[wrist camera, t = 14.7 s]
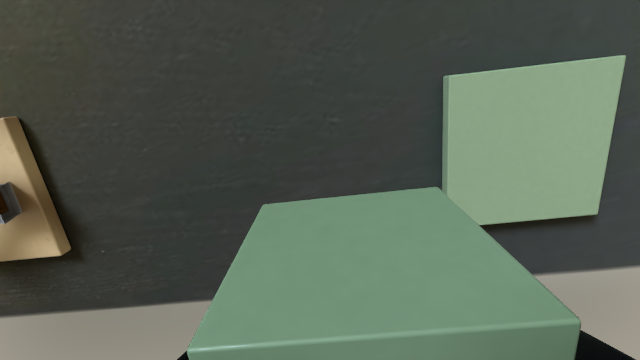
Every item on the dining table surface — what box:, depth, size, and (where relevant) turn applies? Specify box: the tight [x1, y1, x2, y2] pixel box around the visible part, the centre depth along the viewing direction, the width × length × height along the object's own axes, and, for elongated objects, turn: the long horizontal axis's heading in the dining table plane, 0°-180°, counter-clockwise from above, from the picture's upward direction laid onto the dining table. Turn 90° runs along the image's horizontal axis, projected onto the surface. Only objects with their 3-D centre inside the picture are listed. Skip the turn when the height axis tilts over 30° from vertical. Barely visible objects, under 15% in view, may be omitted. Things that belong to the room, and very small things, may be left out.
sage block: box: [187, 187, 581, 360], centre depth 6 cm, size 4×4×4 cm
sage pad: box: [442, 55, 626, 225], centre depth 15 cm, size 8×8×1 cm
